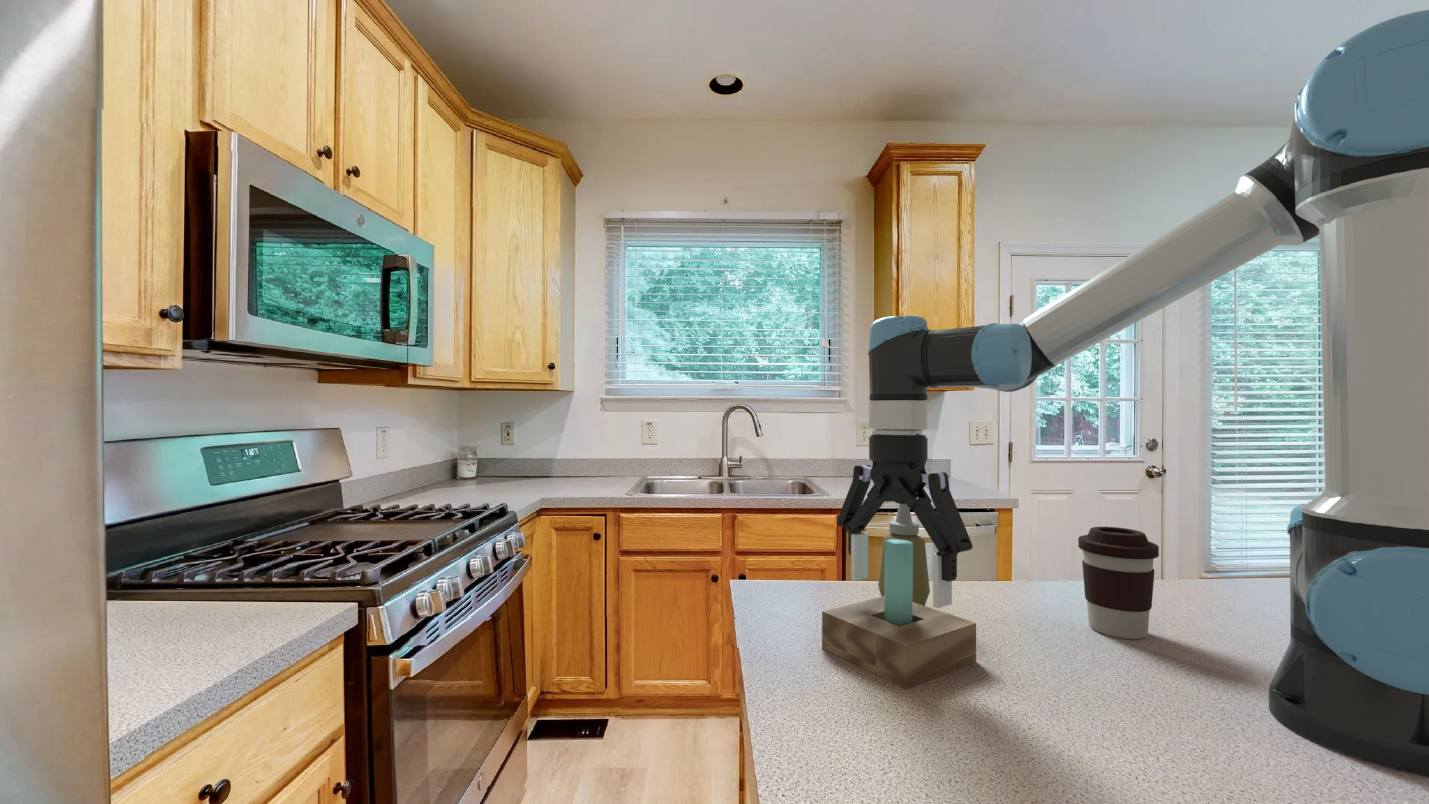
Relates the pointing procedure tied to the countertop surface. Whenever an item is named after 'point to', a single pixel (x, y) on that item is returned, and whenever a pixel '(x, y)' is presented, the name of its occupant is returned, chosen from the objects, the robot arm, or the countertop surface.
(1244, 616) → the countertop surface
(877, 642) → the bore block
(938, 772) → the countertop surface
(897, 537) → the squeeze bottle
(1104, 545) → the coffee cup
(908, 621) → the pin
